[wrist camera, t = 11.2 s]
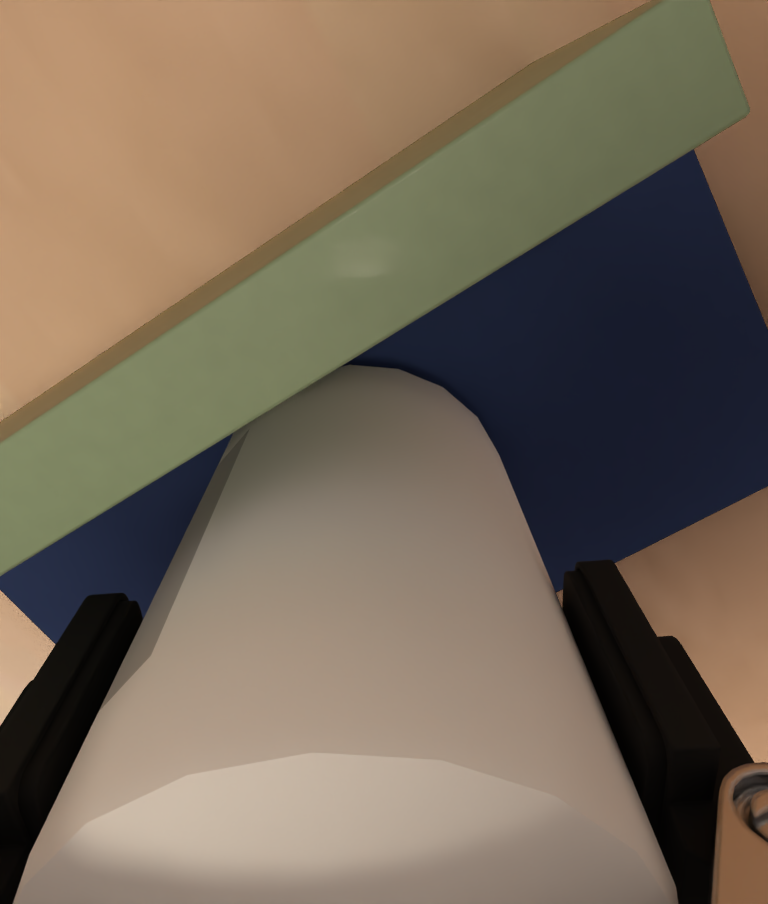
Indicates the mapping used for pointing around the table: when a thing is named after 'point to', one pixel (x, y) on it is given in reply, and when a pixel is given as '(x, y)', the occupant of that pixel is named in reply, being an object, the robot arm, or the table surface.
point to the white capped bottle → (352, 689)
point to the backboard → (369, 263)
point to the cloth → (536, 398)
